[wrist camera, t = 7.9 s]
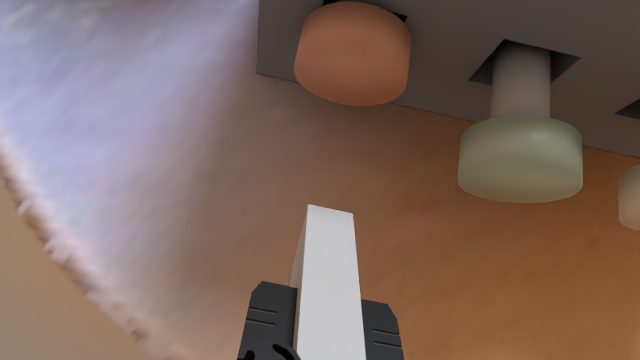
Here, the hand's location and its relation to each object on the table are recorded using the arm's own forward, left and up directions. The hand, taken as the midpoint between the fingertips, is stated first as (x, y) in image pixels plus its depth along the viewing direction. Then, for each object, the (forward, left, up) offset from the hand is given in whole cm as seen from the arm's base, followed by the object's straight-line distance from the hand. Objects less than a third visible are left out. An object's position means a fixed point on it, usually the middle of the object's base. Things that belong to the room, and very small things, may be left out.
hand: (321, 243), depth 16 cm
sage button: (-5, -8, -3) cm, 10 cm away
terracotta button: (+2, -9, -3) cm, 10 cm away
